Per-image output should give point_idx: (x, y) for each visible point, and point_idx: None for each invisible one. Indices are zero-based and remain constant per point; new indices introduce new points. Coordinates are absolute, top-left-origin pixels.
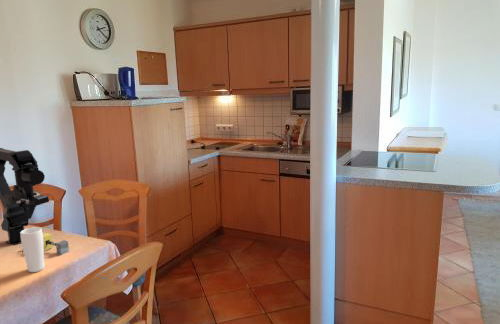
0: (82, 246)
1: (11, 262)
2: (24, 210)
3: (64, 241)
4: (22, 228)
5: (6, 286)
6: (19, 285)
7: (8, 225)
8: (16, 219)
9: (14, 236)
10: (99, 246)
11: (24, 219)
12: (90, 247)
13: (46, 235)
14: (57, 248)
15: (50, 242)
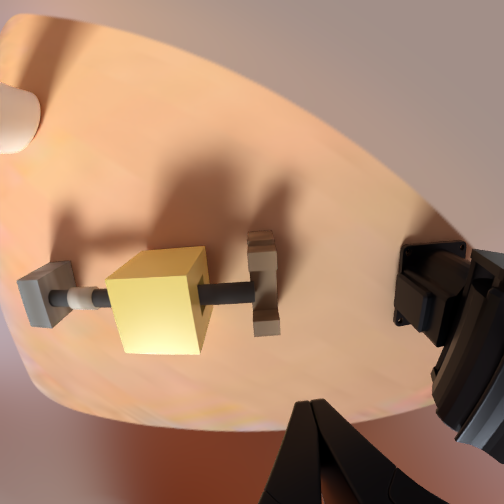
0: (68, 355)
1: (181, 83)
2: (363, 496)
3: (34, 316)
4: (435, 334)
5: (29, 18)
6: (3, 48)
7: (492, 264)
8: (482, 340)
9: (437, 270)
10: (32, 366)
11: (444, 385)
12: (42, 354)
13: (127, 324)
14: (47, 270)
15: (100, 295)
